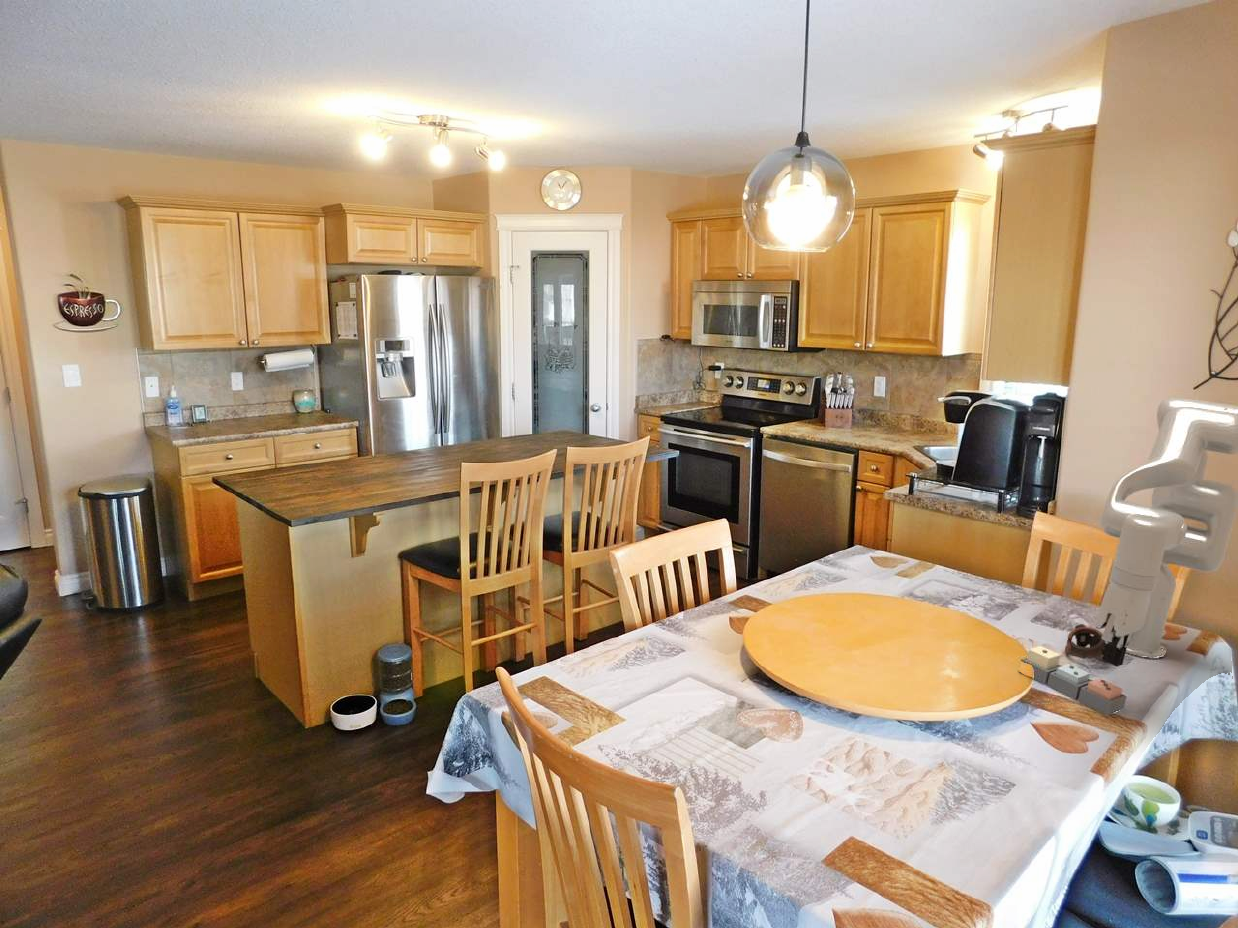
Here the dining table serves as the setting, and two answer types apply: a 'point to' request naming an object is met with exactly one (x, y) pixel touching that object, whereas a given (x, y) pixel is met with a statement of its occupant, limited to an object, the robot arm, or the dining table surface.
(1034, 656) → the button one
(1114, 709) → the tile base
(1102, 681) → the button three
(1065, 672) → the button two
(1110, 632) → the robot arm
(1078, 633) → the pottery mug
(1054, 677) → the tile two base
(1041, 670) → the tile one base
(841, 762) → the dining table surface
